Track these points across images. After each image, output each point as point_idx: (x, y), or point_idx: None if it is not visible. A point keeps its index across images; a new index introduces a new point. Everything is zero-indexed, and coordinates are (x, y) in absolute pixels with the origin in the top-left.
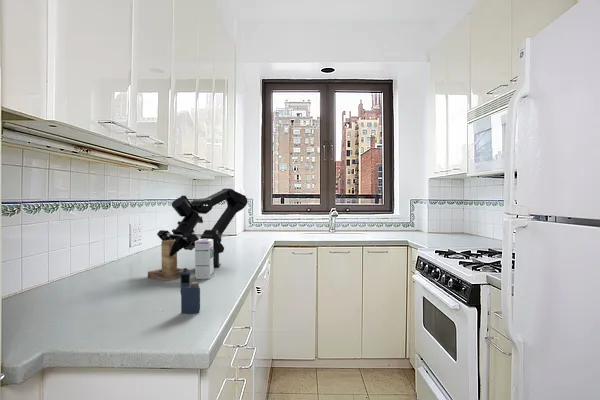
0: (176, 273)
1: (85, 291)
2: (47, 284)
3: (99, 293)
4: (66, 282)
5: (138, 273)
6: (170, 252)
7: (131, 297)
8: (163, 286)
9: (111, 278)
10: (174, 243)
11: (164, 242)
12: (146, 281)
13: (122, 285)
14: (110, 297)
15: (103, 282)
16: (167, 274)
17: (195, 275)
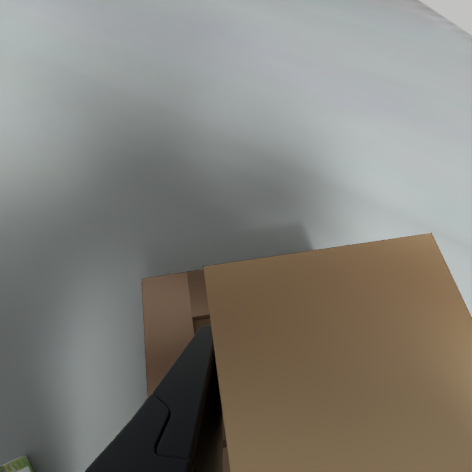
0: (146, 357)
1: (242, 24)
2: (426, 7)
3: (179, 34)
4: (425, 39)
5: (459, 280)
6: (206, 335)
7: (34, 59)
8: (60, 202)
9: (404, 145)
10: (179, 425)
11: (330, 254)
12: (226, 207)
13: (233, 115)
14: (99, 30)
15: (342, 99)
16: (155, 284)
17: (10, 461)
